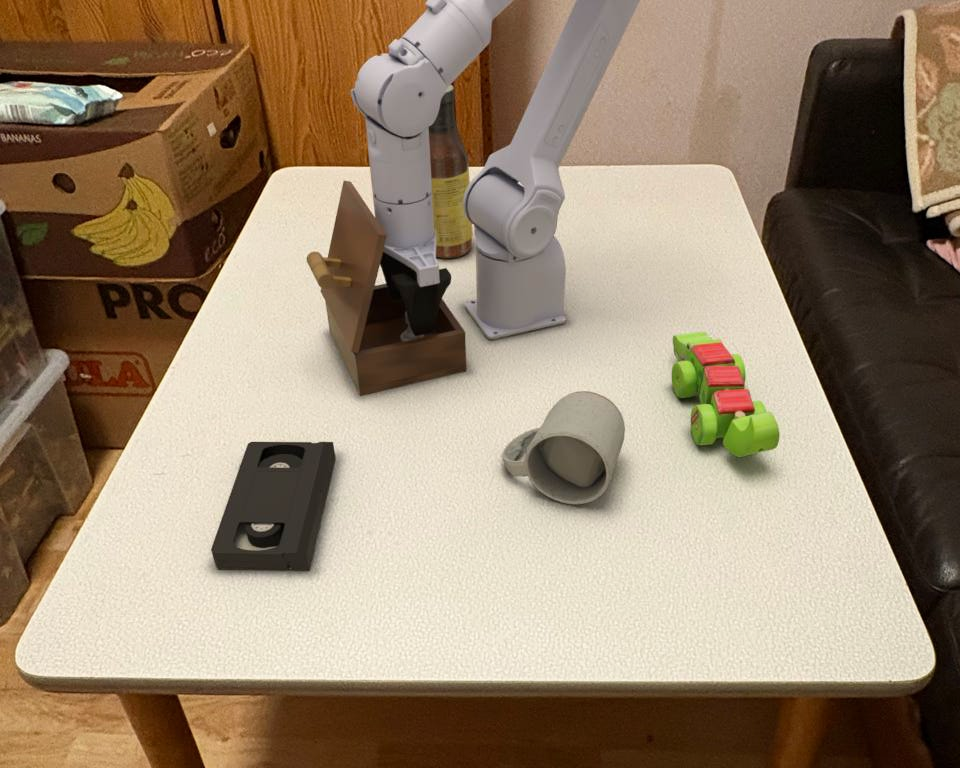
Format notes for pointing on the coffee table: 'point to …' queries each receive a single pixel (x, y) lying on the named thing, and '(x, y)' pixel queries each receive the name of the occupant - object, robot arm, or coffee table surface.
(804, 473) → the coffee table surface
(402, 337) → the pawn
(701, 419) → the toy crocodile
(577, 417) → the ceramic mug
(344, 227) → the lid
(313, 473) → the vhs tape
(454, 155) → the sauce bottle
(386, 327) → the box
